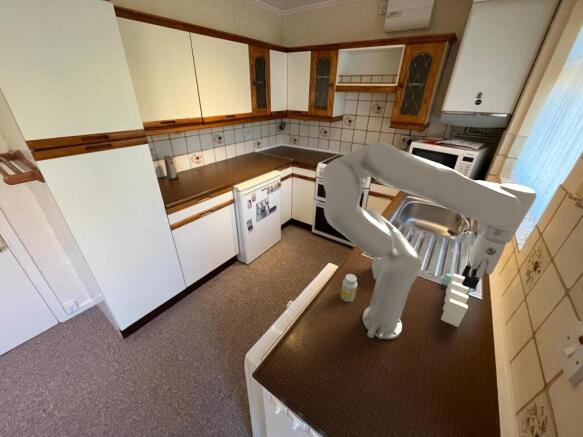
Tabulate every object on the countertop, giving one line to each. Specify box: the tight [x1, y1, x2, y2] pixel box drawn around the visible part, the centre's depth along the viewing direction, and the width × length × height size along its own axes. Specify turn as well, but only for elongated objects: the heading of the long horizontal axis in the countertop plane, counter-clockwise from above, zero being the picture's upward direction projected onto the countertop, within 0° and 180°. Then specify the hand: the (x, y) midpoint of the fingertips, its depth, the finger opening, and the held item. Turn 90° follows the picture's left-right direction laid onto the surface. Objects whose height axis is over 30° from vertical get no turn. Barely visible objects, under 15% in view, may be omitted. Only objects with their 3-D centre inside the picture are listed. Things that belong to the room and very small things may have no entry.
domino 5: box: [440, 298, 469, 328], centre depth 79 cm, size 2×5×9 cm, turn 55°
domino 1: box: [442, 272, 472, 294], centre depth 94 cm, size 2×5×9 cm
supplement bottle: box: [340, 273, 358, 303], centre depth 88 cm, size 5×5×10 cm
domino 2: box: [445, 273, 465, 294], centre depth 90 cm, size 2×5×9 cm, turn 55°
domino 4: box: [442, 289, 469, 312], centre depth 83 cm, size 2×5×9 cm, turn 55°
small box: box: [371, 256, 383, 280], centre depth 100 cm, size 8×6×10 cm
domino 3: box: [443, 281, 469, 303], centre depth 86 cm, size 2×5×9 cm, turn 55°
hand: (467, 281), depth 72 cm, fingers open, 4 cm apart
